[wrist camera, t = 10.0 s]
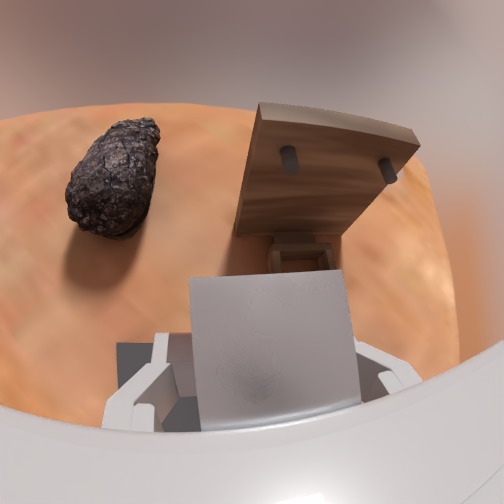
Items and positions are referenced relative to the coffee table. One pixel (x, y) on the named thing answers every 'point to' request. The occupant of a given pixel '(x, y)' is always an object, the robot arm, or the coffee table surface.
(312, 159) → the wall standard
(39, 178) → the coffee table surface
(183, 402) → the rubber mat
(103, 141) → the dark porous rock
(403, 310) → the coffee table surface
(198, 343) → the light gray square block
